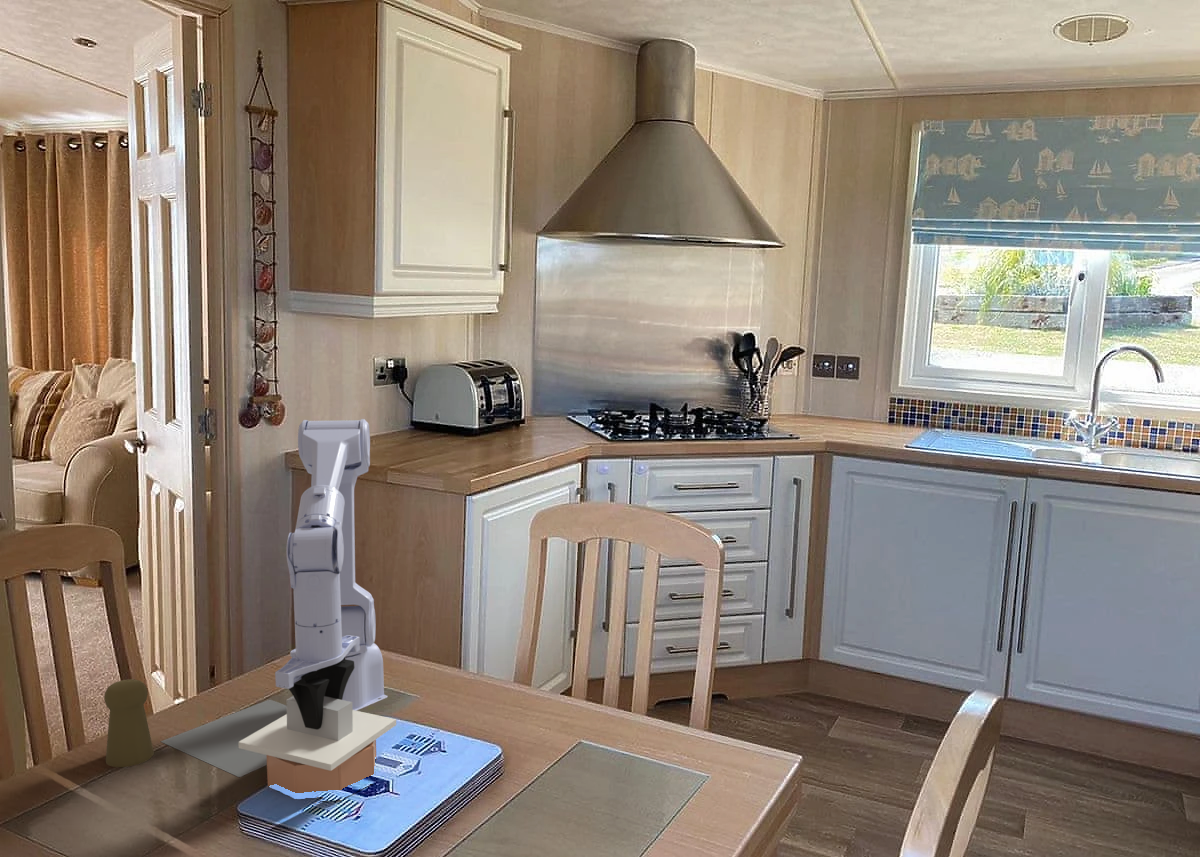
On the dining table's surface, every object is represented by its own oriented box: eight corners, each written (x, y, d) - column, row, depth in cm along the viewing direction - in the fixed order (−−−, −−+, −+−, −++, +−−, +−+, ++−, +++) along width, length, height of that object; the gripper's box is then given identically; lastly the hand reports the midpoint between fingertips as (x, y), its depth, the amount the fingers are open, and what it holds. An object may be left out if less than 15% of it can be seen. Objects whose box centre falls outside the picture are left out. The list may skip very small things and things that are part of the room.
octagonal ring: (330, 746, 139) (329, 711, 138) (396, 771, 131) (395, 735, 130) (249, 783, 128) (247, 746, 127) (316, 813, 120) (314, 774, 120)
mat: (269, 703, 153) (269, 699, 153) (348, 732, 143) (348, 728, 143) (160, 745, 139) (160, 741, 139) (239, 781, 128) (239, 777, 128)
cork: (135, 773, 131) (130, 693, 129) (94, 769, 132) (89, 689, 130) (164, 753, 136) (159, 676, 135) (125, 749, 138) (120, 672, 136)
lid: (310, 706, 138) (309, 672, 137) (396, 725, 133) (396, 690, 132) (238, 747, 125) (237, 711, 124) (330, 770, 120) (330, 733, 119)
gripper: (327, 600, 135) (331, 696, 137) (253, 633, 122) (258, 739, 123) (371, 606, 132) (374, 704, 134) (300, 641, 119) (304, 749, 121)
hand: (321, 721), depth 129 cm, fingers closed on lid, 3 cm apart
